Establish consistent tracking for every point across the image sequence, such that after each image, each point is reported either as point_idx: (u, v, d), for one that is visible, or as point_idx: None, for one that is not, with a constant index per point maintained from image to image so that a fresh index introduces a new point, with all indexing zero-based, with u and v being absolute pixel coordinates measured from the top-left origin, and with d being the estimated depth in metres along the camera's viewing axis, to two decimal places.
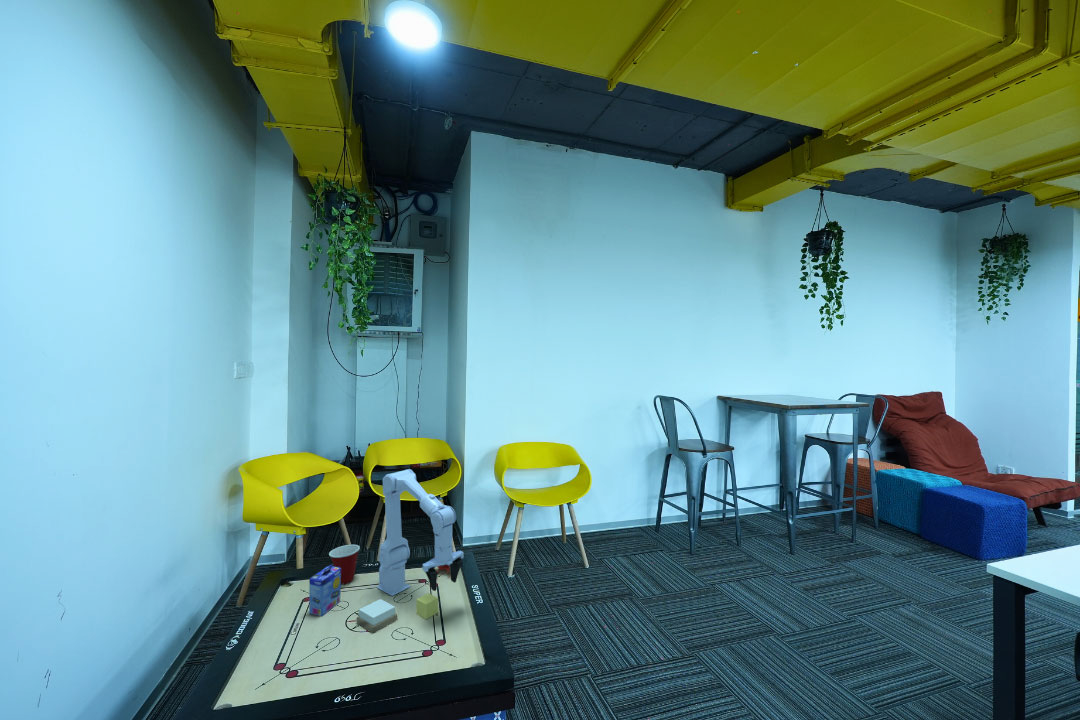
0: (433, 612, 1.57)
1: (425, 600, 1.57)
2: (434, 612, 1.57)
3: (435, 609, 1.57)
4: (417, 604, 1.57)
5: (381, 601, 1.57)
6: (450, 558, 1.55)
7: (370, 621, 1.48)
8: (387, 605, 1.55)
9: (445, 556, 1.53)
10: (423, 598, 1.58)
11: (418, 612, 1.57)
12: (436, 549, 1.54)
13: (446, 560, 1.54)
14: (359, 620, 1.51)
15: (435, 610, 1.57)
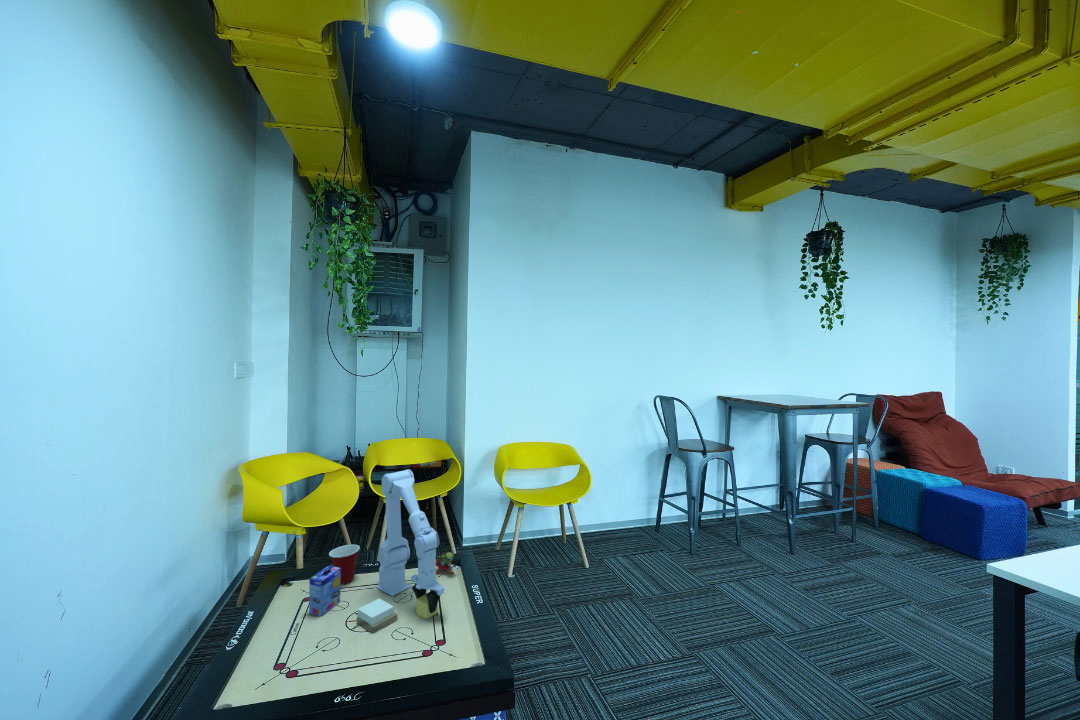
0: (433, 612, 1.57)
1: (425, 599, 1.57)
2: (434, 612, 1.57)
3: None
4: (417, 604, 1.57)
5: (380, 601, 1.57)
6: (422, 584, 1.55)
7: (369, 621, 1.48)
8: (386, 604, 1.55)
9: (418, 578, 1.56)
10: (423, 597, 1.58)
11: (418, 612, 1.57)
12: None
13: (419, 583, 1.56)
14: (359, 620, 1.51)
15: None
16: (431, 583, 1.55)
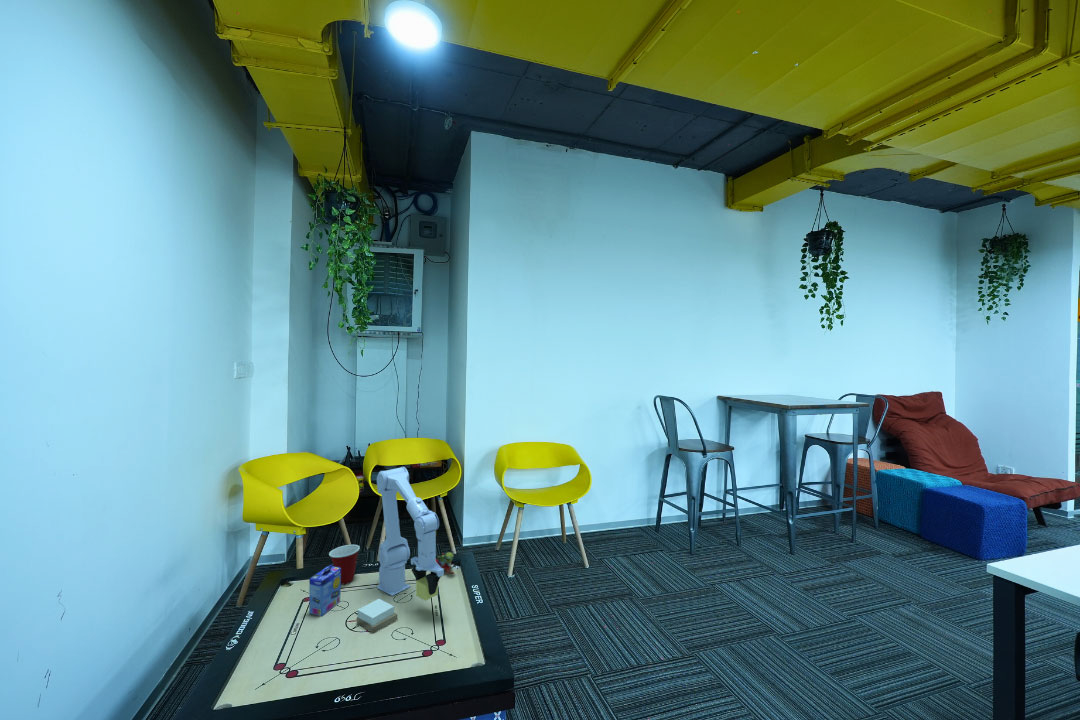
0: None
1: (425, 581, 1.57)
2: None
3: None
4: (417, 586, 1.57)
5: (380, 601, 1.57)
6: (422, 566, 1.55)
7: (369, 621, 1.48)
8: (386, 604, 1.55)
9: (418, 560, 1.56)
10: (423, 579, 1.58)
11: (418, 594, 1.57)
12: None
13: (418, 565, 1.55)
14: (359, 620, 1.51)
15: (435, 592, 1.57)
16: (431, 565, 1.55)
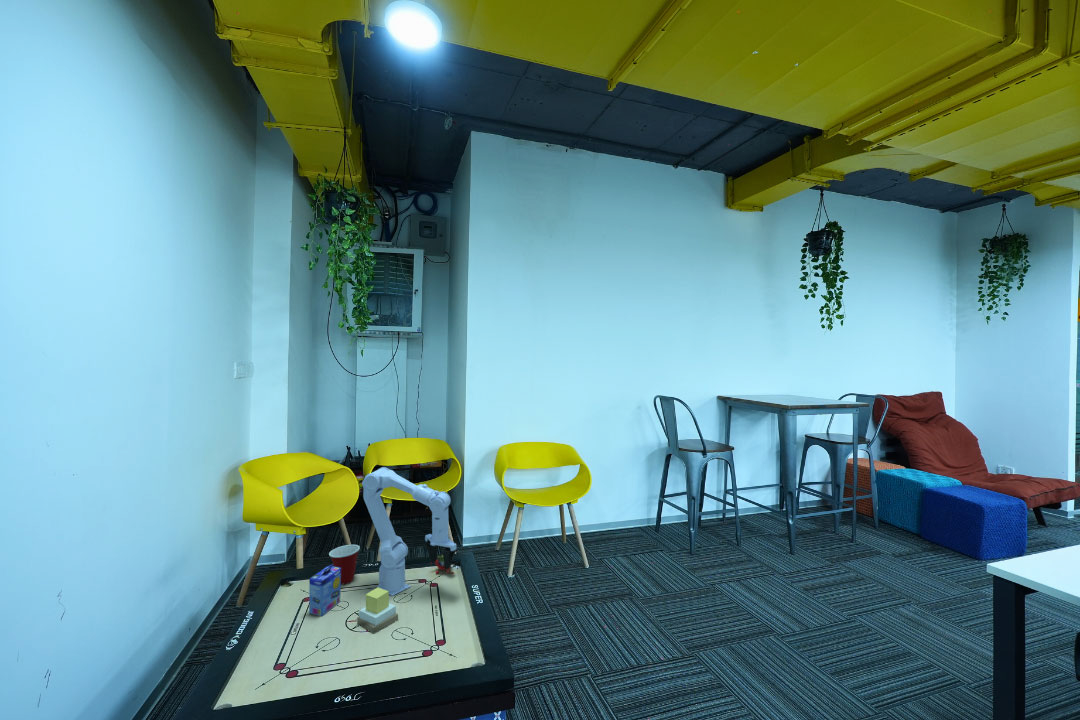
0: (384, 606, 1.52)
1: (375, 594, 1.52)
2: (384, 606, 1.52)
3: (386, 603, 1.53)
4: (366, 599, 1.52)
5: None
6: (436, 541, 1.67)
7: (372, 621, 1.48)
8: None
9: (432, 536, 1.68)
10: (372, 592, 1.53)
11: (368, 607, 1.51)
12: None
13: (433, 540, 1.68)
14: (360, 620, 1.51)
15: (386, 604, 1.53)
16: (444, 540, 1.67)
